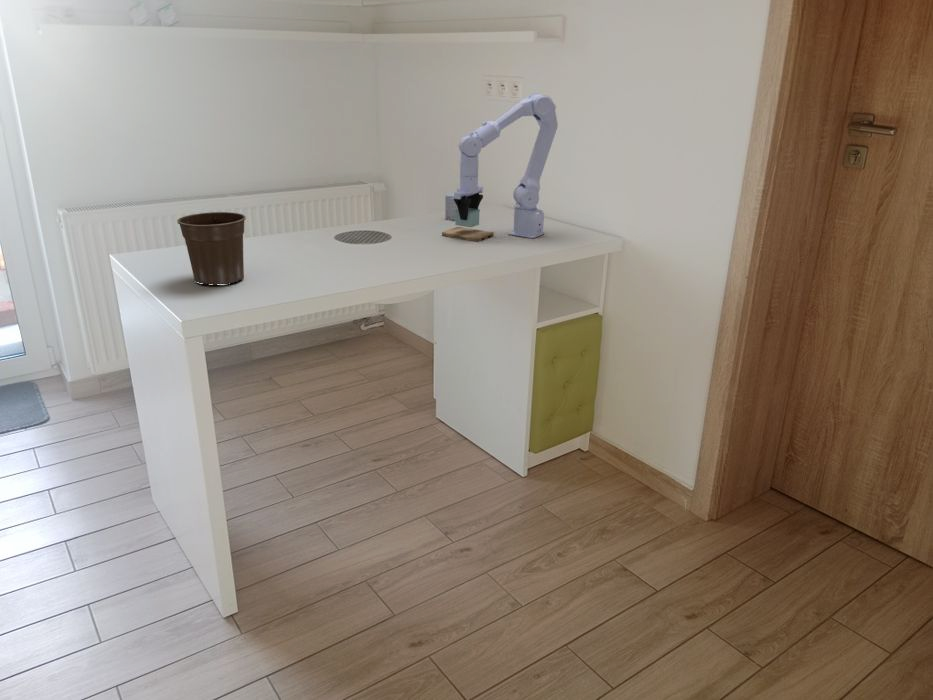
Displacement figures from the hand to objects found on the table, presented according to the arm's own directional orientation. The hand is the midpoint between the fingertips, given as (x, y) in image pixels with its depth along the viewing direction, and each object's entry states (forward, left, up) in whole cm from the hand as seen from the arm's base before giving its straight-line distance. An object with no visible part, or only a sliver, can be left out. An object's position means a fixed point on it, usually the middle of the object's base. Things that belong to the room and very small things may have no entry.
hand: (468, 218), depth 231 cm
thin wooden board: (0, 0, -6) cm, 6 cm away
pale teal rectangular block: (0, 0, -2) cm, 2 cm away
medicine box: (+16, -19, -6) cm, 26 cm away
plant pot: (+27, +79, -6) cm, 84 cm away
